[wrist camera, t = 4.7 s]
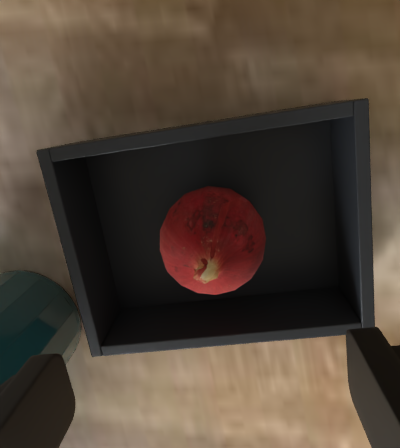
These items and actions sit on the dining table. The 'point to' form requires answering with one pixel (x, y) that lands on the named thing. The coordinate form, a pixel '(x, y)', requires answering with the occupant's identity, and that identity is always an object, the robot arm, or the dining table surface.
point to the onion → (212, 240)
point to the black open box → (245, 186)
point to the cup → (34, 320)
